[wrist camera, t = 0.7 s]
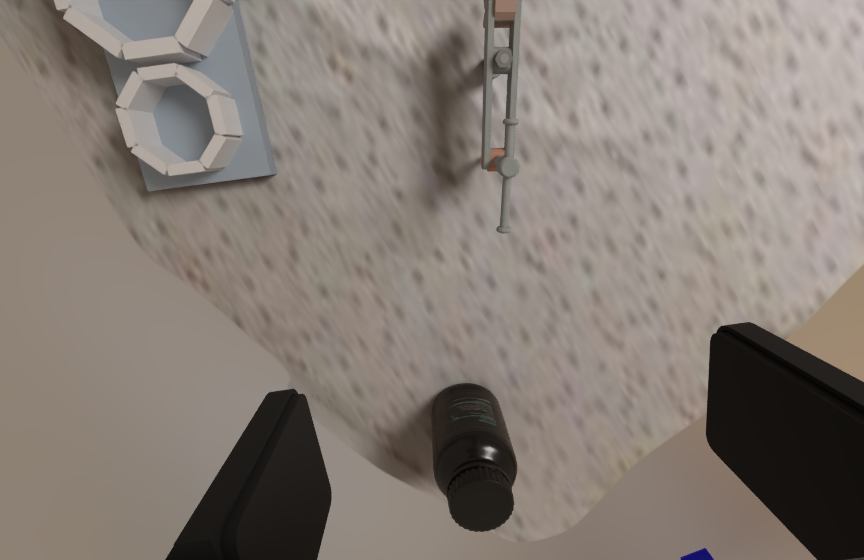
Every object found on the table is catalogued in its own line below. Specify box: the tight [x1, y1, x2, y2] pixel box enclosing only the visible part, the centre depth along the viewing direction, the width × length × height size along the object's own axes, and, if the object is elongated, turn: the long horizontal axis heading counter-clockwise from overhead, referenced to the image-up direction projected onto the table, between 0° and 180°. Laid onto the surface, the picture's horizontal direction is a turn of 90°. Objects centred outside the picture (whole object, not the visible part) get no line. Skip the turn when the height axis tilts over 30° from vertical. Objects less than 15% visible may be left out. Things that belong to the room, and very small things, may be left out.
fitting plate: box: [54, 0, 277, 191], centre depth 31 cm, size 19×11×4 cm, turn 7°
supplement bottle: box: [432, 383, 517, 532], centre depth 37 cm, size 7×7×12 cm
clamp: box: [481, 0, 522, 233], centre depth 30 cm, size 15×2×10 cm, turn 1°
